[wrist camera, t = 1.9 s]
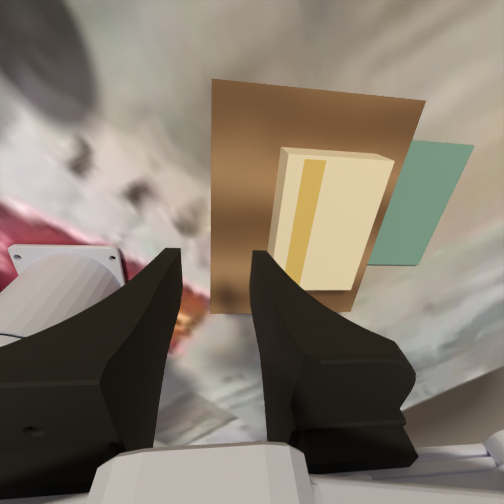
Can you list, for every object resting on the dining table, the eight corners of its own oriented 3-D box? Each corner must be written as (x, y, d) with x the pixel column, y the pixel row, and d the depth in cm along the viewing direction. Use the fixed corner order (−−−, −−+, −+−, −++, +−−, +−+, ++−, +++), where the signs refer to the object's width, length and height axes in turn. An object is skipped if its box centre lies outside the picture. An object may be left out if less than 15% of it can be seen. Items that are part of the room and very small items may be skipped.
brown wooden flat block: (333, 283, 27) (350, 311, 23) (211, 283, 25) (210, 313, 22) (388, 98, 19) (425, 100, 15) (212, 81, 17) (212, 78, 14)
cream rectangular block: (339, 273, 21) (350, 290, 19) (264, 273, 20) (268, 290, 18) (376, 153, 16) (395, 161, 15) (281, 146, 16) (288, 153, 14)
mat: (416, 263, 27) (418, 264, 26) (339, 262, 25) (340, 264, 25) (471, 145, 21) (474, 145, 21) (376, 137, 20) (378, 138, 20)
